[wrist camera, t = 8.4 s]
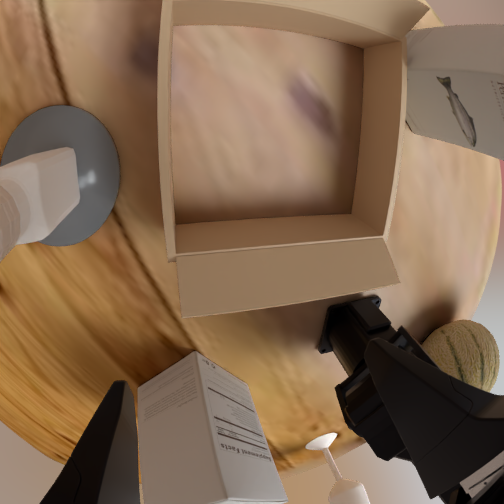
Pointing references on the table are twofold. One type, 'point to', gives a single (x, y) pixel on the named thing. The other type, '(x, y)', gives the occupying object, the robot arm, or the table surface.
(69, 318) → the table surface
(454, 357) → the cantaloupe
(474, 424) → the robot arm
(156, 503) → the supplement box
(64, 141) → the coaster
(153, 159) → the table surface
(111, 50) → the table surface
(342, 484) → the champagne flute
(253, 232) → the carton
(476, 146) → the supplement box
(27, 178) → the salt shaker
